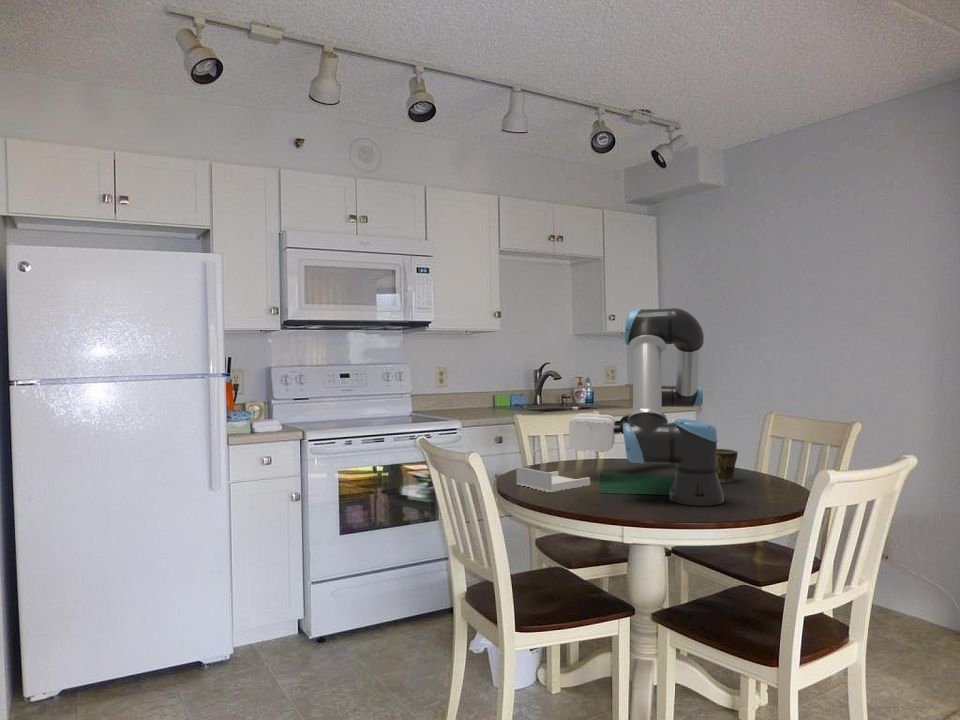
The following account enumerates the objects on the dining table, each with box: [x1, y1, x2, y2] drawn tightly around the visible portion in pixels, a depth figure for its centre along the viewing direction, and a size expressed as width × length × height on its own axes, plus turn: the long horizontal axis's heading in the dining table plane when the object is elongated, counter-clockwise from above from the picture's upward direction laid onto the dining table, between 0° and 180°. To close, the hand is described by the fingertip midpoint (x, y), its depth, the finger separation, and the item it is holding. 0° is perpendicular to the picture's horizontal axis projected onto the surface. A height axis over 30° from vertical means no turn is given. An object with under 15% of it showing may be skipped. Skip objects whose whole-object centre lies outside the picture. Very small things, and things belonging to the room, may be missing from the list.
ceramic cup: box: [717, 448, 738, 484], centre depth 229 cm, size 13×10×10 cm
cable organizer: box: [568, 413, 616, 453], centre depth 239 cm, size 15×11×12 cm
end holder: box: [515, 466, 591, 493], centre depth 227 cm, size 16×18×6 cm
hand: (592, 429), depth 238 cm, fingers closed on cable organizer, 12 cm apart
